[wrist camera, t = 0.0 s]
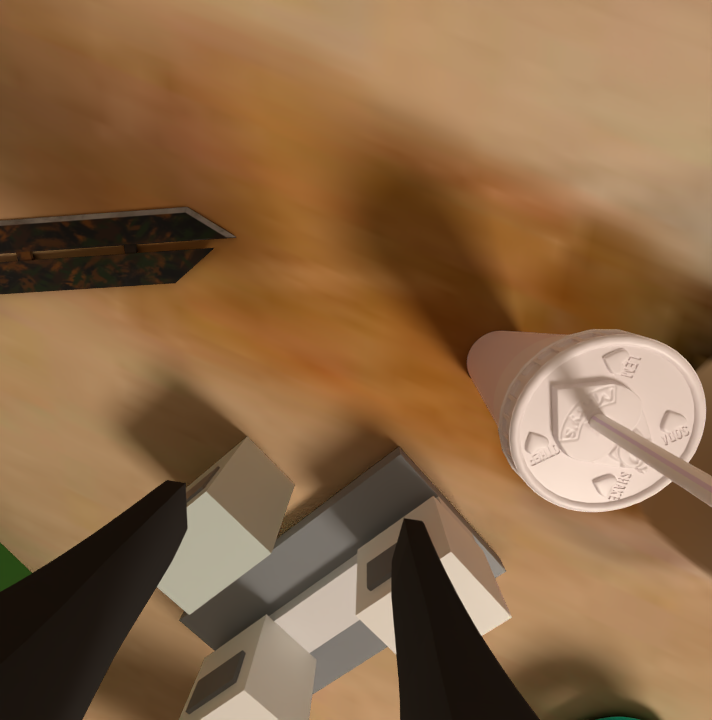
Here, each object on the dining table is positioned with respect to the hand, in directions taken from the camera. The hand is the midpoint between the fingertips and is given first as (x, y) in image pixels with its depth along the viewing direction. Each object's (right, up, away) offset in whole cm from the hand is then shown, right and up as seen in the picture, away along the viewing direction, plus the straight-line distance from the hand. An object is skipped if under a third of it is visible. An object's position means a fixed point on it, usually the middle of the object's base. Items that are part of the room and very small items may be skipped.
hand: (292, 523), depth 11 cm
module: (-6, -3, +12) cm, 14 cm away
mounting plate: (+1, -11, +13) cm, 17 cm away
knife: (-17, +12, +9) cm, 23 cm away
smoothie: (+11, +5, +10) cm, 15 cm away
